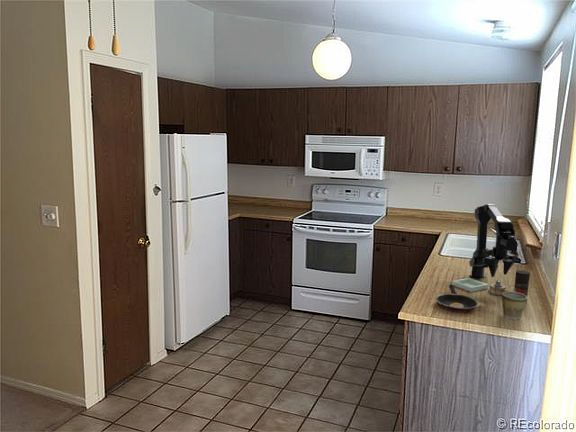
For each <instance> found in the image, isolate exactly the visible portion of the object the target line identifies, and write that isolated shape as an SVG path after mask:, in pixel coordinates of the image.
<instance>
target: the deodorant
mask: <svg viewBox="0 0 576 432" xmlns="http://www.w3.org/2000/svg"><path fill="white" fill-rule="evenodd" d="M530 276H531V273H530V271H528V270H523V269H521V270H520V269H519V270H515V277H514V286H513V292H518V293H521V294H524V295H526V296H527V297H528V295H529V294H528V292H529V285H530ZM527 302H528V299H527V300H526V304H527Z"/></svg>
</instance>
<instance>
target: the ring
mask: <svg viewBox="0 0 576 432" xmlns="http://www.w3.org/2000/svg"><path fill="white" fill-rule="evenodd" d="M489 290H490V292H491V293H490V292H489V293H490V294H492V293H494V294H493V295H497V294H502V293H503V292H507V291H509V290H508V289H507V287H506V285H505V284H501V286H500V287H495V283H490V284H489Z"/></svg>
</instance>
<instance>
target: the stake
mask: <svg viewBox="0 0 576 432" xmlns="http://www.w3.org/2000/svg"><path fill="white" fill-rule="evenodd" d="M494 284H495V287H500V286H501V285H502V282H501V280H495V283H494ZM488 293H490V294H493V295H495V294H494V293H491V292H490V289H488ZM496 295H498V296H499V295H500V296H502V294H496Z"/></svg>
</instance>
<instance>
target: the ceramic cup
mask: <svg viewBox="0 0 576 432" xmlns="http://www.w3.org/2000/svg"><path fill="white" fill-rule="evenodd" d="M526 300H527V301H528V295H527V296H526V295H524V294H521V293H518V292H514V291H511V290H510V291H509V290H508V291H507V292H503V293H502V295H501V302H502V310H503V311H502V312H503V314H502V315H503V316H504V318H506V319H508V320H515V321H518V320H520V319H521V318H522V315H523V311H524V308H525V306H526V304H527V303H526Z"/></svg>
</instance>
